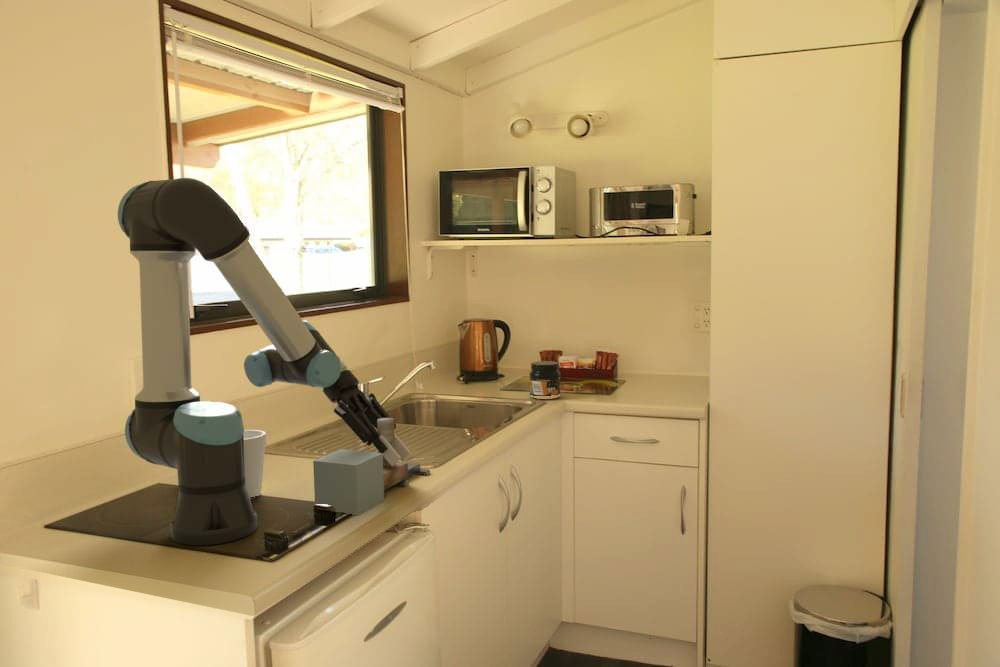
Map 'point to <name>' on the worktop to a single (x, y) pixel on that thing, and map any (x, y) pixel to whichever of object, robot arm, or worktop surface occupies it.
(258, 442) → the foam cup
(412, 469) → the rail
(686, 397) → the worktop surface
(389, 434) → the grey peg on base
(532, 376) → the supplement container
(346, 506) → the grey box
